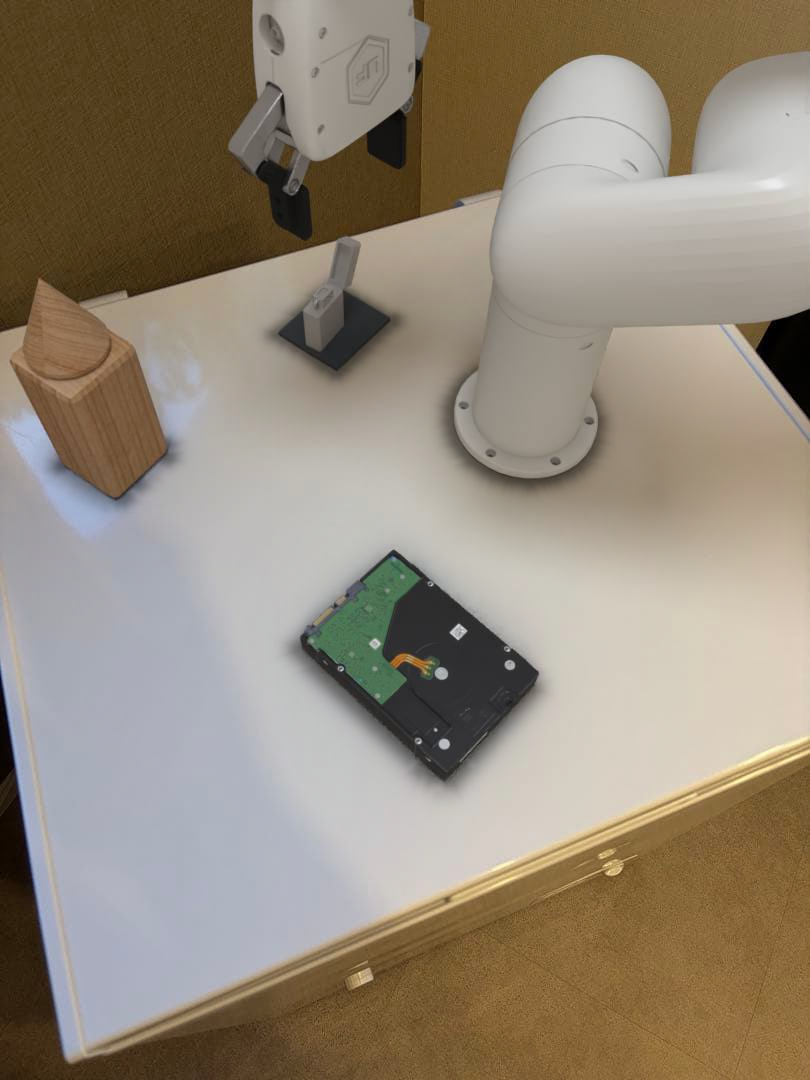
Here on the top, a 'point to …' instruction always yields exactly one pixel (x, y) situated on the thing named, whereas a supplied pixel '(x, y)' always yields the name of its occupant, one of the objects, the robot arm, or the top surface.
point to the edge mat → (340, 332)
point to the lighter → (331, 296)
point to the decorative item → (88, 393)
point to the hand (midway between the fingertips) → (341, 193)
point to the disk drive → (419, 662)
